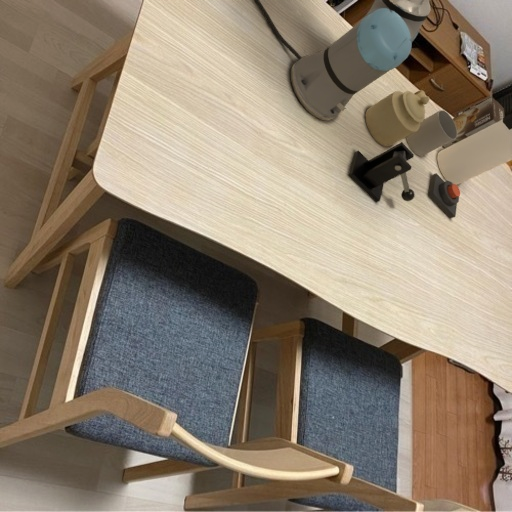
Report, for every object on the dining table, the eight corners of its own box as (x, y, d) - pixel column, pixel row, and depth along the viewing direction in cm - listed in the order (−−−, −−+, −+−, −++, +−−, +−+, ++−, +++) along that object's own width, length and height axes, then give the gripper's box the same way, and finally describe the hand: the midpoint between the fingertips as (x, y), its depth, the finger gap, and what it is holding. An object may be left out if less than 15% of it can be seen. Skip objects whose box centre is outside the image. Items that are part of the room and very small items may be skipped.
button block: (427, 196, 150) (439, 190, 148) (431, 175, 155) (442, 170, 153) (450, 218, 154) (461, 214, 152) (452, 198, 159) (463, 193, 156)
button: (446, 193, 151) (451, 190, 149) (447, 183, 153) (453, 181, 152) (454, 201, 152) (459, 199, 151) (455, 192, 154) (460, 189, 153)
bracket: (381, 179, 138) (422, 158, 130) (376, 202, 134) (418, 182, 125) (354, 152, 134) (395, 129, 126) (348, 175, 130) (389, 152, 121)
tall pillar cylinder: (434, 165, 158) (521, 123, 140) (440, 143, 165) (524, 100, 147) (456, 192, 161) (544, 154, 144) (461, 169, 168) (546, 130, 150)
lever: (403, 195, 137) (416, 194, 136) (401, 204, 135) (414, 203, 134) (393, 150, 128) (406, 149, 126) (391, 159, 126) (404, 158, 125)
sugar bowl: (366, 88, 147) (415, 56, 137) (394, 112, 153) (442, 82, 142) (363, 131, 140) (414, 101, 129) (392, 154, 145) (443, 127, 135)
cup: (425, 161, 155) (457, 145, 148) (406, 145, 151) (438, 128, 144) (425, 138, 160) (456, 121, 152) (406, 122, 155) (438, 104, 148)
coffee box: (455, 157, 168) (506, 132, 157) (442, 146, 165) (493, 119, 153) (454, 134, 173) (504, 108, 161) (441, 122, 169) (492, 95, 158)
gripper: (630, 100, 111) (514, 153, 127) (624, 62, 118) (515, 117, 135) (612, 73, 108) (495, 131, 124) (607, 36, 115) (498, 95, 132)
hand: (506, 123), depth 130 cm, fingers closed
